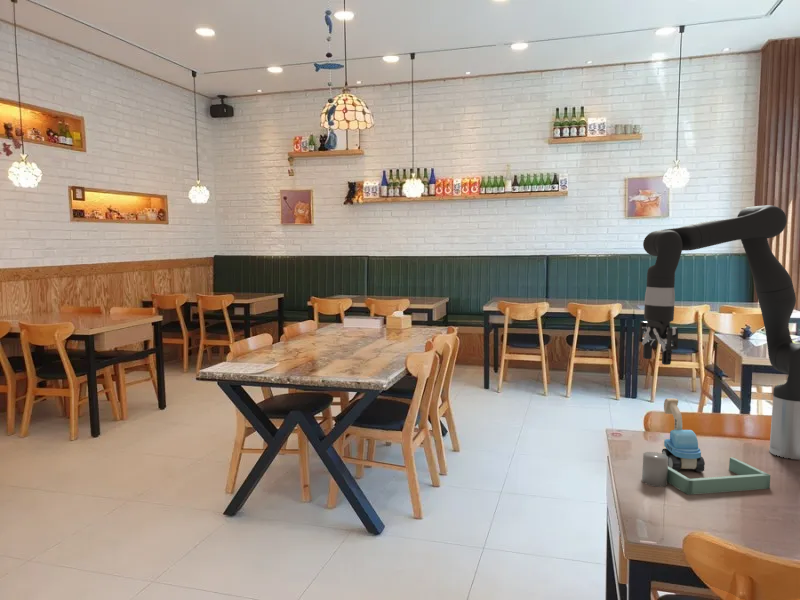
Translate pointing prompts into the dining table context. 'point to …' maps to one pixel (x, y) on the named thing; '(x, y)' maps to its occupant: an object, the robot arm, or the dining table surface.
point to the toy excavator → (681, 442)
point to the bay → (722, 480)
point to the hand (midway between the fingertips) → (656, 361)
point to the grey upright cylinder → (655, 469)
